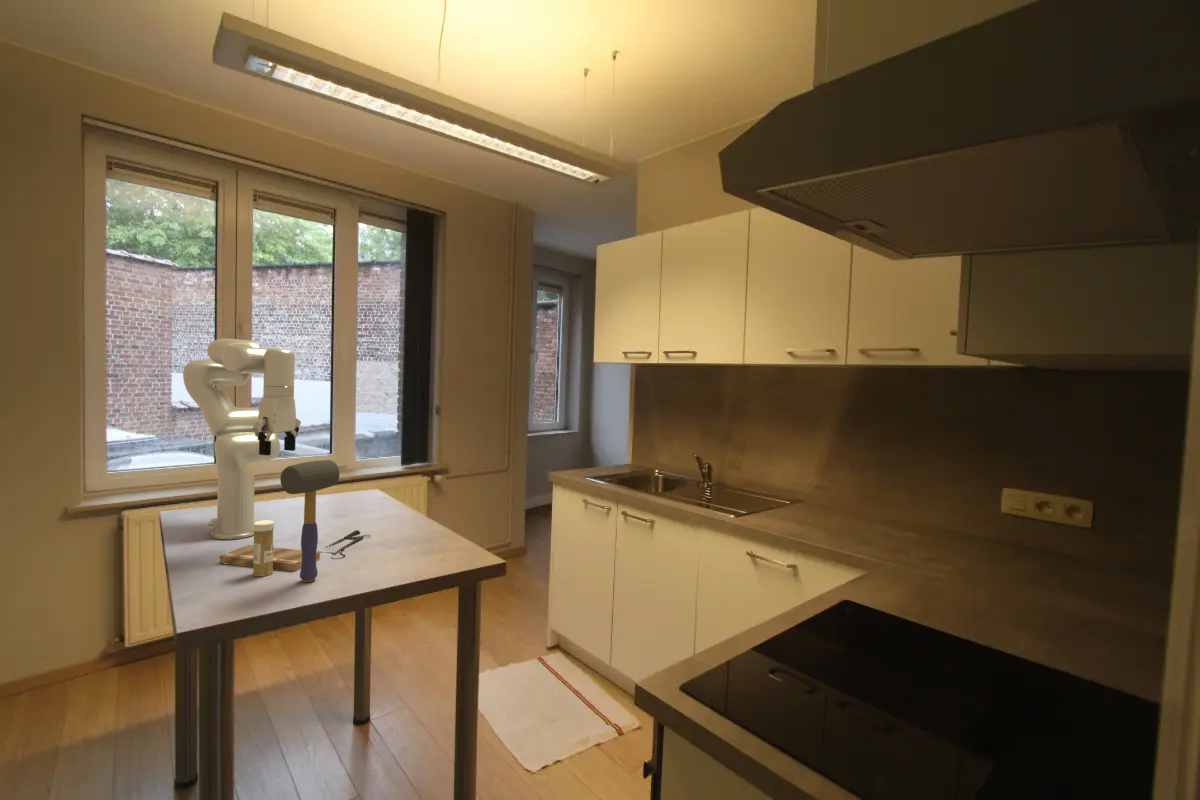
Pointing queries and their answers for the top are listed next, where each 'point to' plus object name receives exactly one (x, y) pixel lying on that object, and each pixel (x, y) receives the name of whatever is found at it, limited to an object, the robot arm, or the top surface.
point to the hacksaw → (347, 544)
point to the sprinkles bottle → (263, 548)
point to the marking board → (281, 558)
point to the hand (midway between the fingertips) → (277, 452)
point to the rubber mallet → (309, 504)
